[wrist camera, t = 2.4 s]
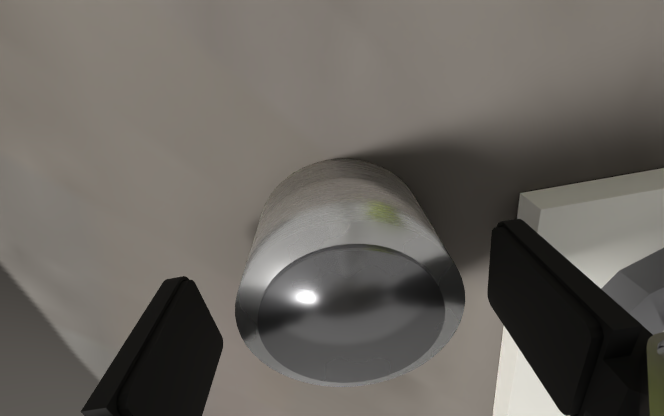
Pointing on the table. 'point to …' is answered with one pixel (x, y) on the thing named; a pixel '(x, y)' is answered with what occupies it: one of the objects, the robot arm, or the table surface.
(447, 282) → the cap
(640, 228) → the mounted pipe fitting
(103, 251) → the table surface
